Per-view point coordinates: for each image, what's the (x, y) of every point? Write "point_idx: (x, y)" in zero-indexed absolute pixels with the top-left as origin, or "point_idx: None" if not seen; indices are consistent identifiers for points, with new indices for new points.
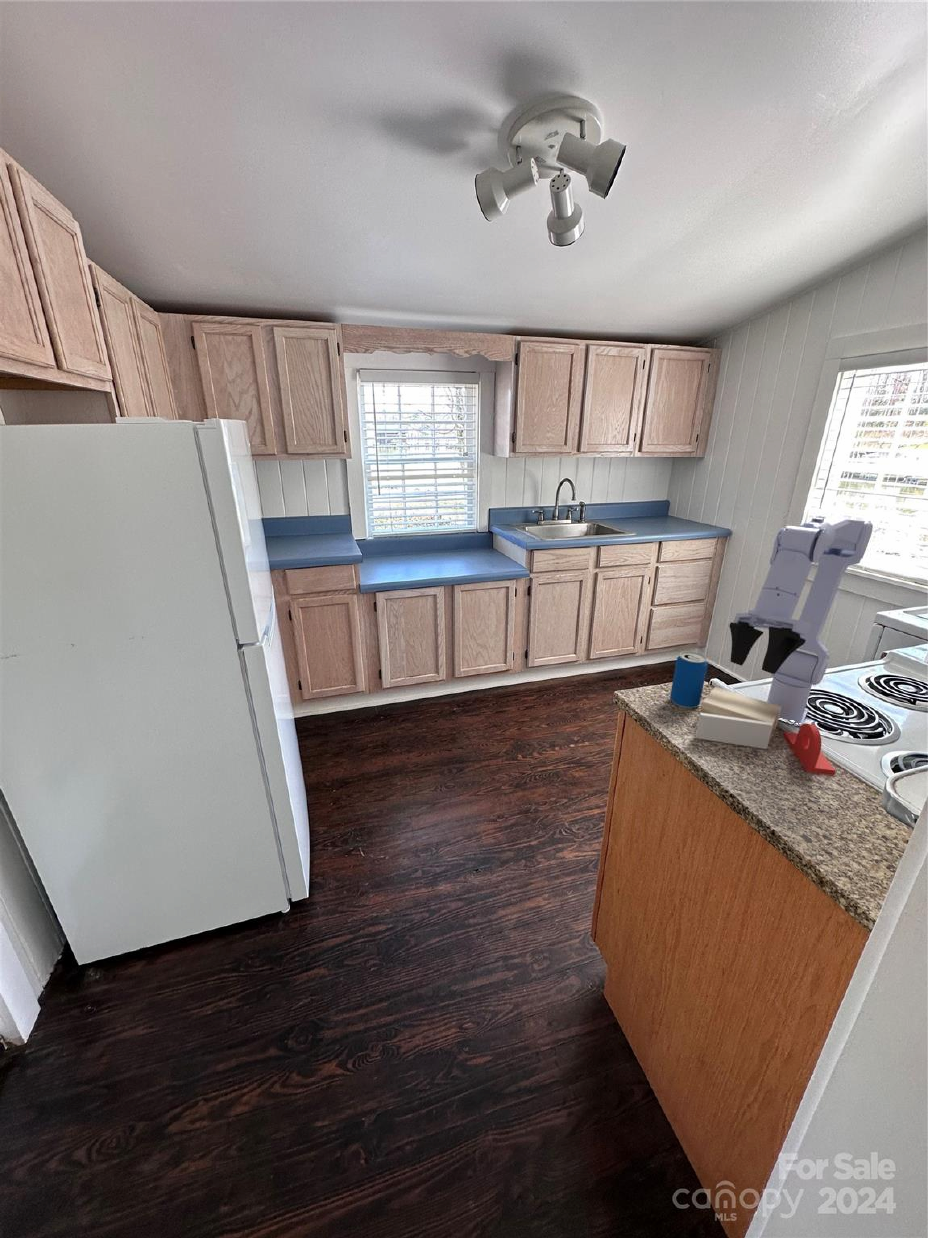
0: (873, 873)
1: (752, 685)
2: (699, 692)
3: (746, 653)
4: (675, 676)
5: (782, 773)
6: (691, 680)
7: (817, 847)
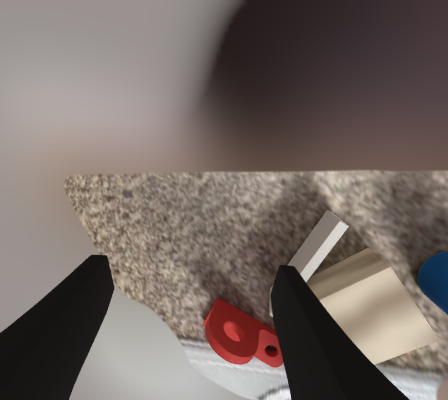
0: (84, 216)
1: None
2: (439, 299)
3: (284, 351)
4: None
5: (221, 264)
6: None
7: (116, 194)
